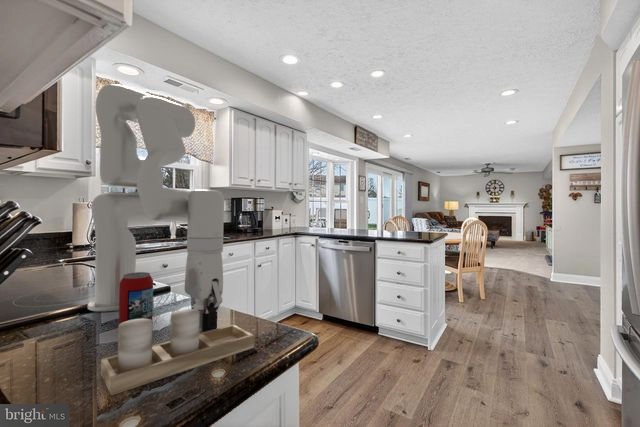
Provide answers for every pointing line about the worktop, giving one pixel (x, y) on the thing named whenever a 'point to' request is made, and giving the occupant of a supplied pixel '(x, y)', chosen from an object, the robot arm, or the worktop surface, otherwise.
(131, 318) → the beverage can
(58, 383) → the worktop surface
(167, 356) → the beige long tray
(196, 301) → the pill bottle
